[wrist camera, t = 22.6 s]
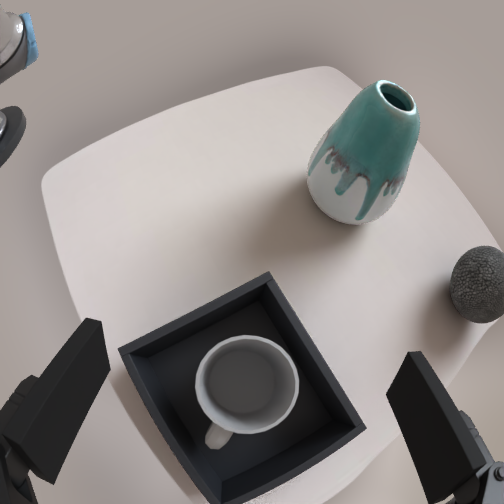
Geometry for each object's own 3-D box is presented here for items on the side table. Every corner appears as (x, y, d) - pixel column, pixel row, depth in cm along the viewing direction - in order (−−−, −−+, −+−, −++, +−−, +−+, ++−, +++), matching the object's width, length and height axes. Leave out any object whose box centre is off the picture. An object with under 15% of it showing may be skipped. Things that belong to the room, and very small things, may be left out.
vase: (389, 235, 36) (469, 148, 20) (308, 237, 35) (365, 128, 19) (366, 166, 41) (418, 73, 25) (293, 163, 40) (325, 52, 23)
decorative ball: (468, 344, 31) (520, 328, 22) (426, 301, 33) (476, 274, 24) (488, 291, 34) (532, 267, 25) (449, 250, 36) (492, 217, 27)
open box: (140, 354, 28) (117, 348, 22) (260, 292, 32) (269, 270, 26) (219, 486, 23) (218, 513, 17) (339, 419, 27) (367, 428, 20)
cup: (290, 365, 28) (315, 360, 20) (246, 450, 24) (254, 479, 16) (225, 334, 29) (224, 317, 21) (180, 419, 25) (160, 436, 17)
